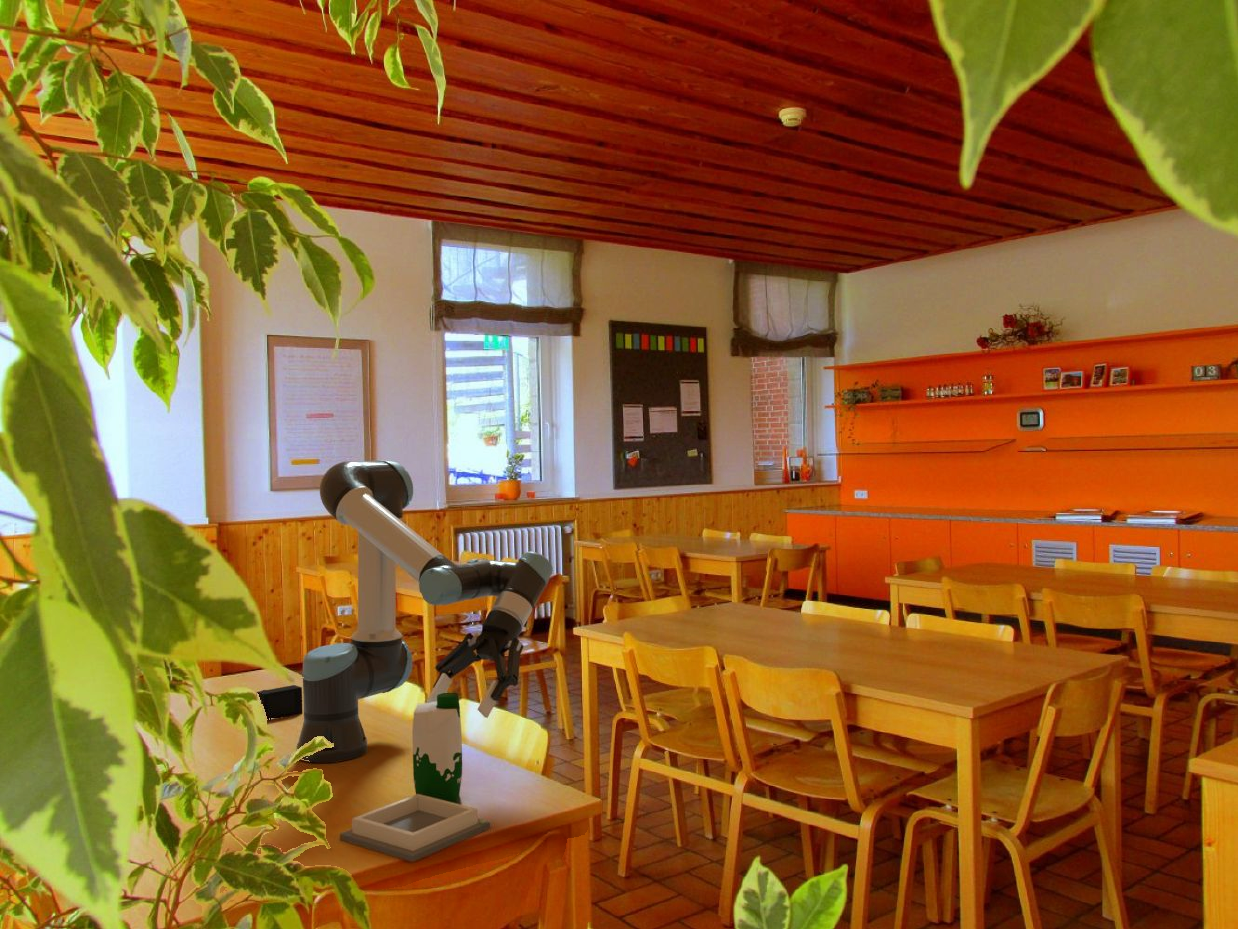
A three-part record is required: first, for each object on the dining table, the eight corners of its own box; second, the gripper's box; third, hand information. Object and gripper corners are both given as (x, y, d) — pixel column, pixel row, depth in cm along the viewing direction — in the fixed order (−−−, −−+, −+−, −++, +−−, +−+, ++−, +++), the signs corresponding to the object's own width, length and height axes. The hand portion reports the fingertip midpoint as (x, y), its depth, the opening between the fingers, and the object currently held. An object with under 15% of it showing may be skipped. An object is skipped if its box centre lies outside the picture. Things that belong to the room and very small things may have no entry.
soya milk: (461, 808, 189) (458, 700, 189) (411, 810, 188) (408, 702, 188) (464, 792, 197) (461, 689, 197) (417, 795, 197) (414, 691, 197)
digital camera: (293, 710, 268) (292, 683, 268) (302, 713, 265) (302, 686, 265) (254, 718, 261) (254, 690, 261) (264, 721, 257) (263, 693, 257)
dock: (339, 839, 174) (339, 819, 174) (419, 809, 189) (418, 790, 189) (412, 862, 163) (412, 840, 163) (490, 827, 178) (489, 807, 178)
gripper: (563, 635, 202) (515, 728, 190) (471, 626, 217) (421, 712, 205) (545, 612, 198) (494, 706, 186) (452, 604, 213) (400, 691, 201)
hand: (456, 709), depth 195 cm, fingers open, 13 cm apart
